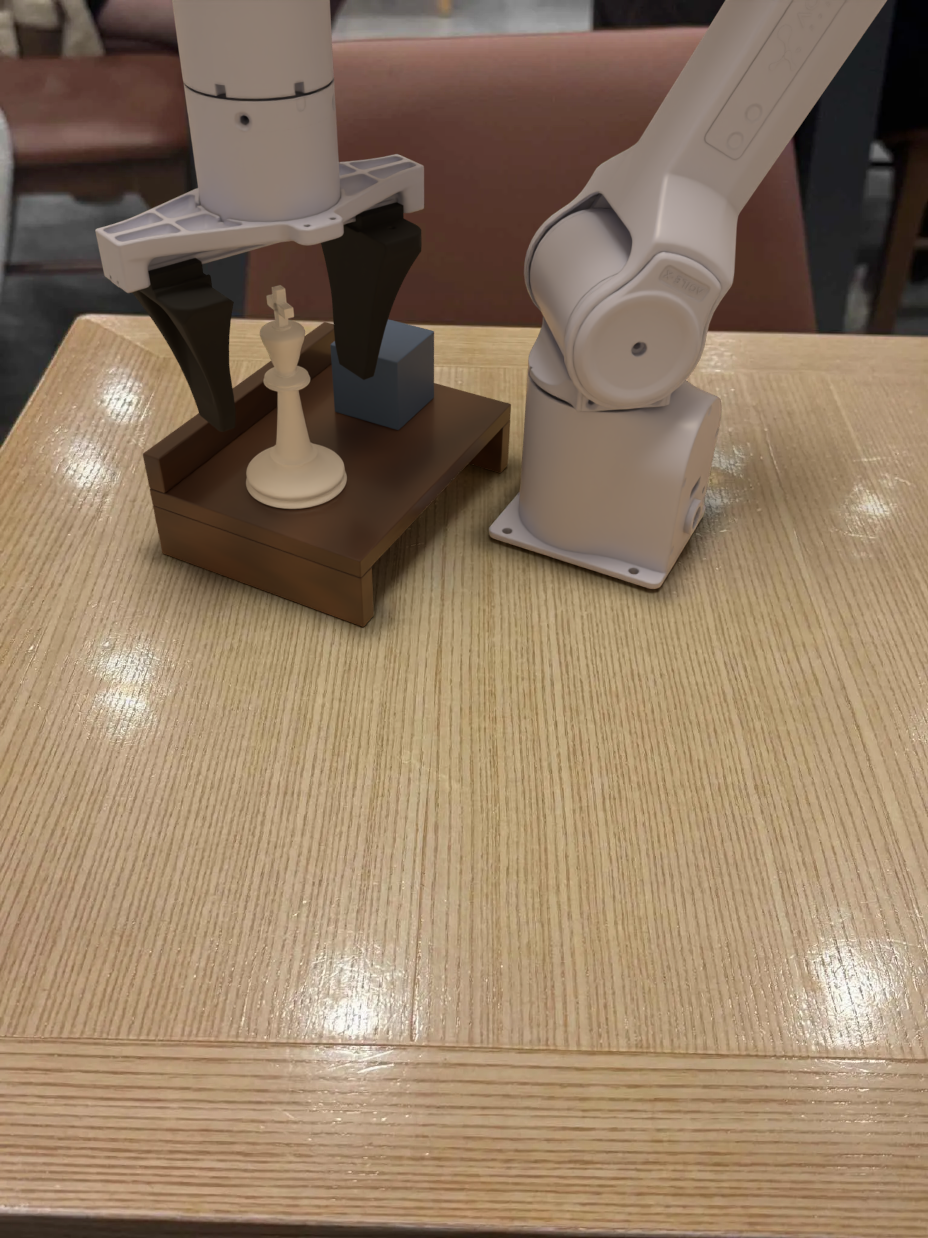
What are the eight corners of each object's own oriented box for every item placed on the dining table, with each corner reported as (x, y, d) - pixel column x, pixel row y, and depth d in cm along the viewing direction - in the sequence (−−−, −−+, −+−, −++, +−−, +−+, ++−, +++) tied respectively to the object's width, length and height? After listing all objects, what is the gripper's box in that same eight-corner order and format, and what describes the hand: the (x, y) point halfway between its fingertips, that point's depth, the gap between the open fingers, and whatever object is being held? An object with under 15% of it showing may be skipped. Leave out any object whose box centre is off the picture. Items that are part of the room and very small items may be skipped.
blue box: (434, 397, 60) (434, 330, 58) (398, 430, 58) (397, 362, 55) (372, 380, 62) (369, 313, 59) (334, 412, 59) (329, 343, 56)
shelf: (508, 465, 63) (513, 370, 59) (363, 627, 52) (358, 525, 48) (330, 412, 67) (324, 320, 63) (162, 553, 56) (141, 453, 52)
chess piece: (275, 521, 51) (252, 323, 45) (229, 472, 54) (201, 279, 48) (365, 489, 54) (356, 295, 47) (316, 443, 57) (301, 255, 50)
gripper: (134, 143, 36) (193, 487, 45) (471, 71, 43) (464, 380, 52) (44, 92, 40) (115, 417, 49) (366, 34, 47) (376, 327, 56)
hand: (289, 394), depth 51 cm, fingers open, 7 cm apart
